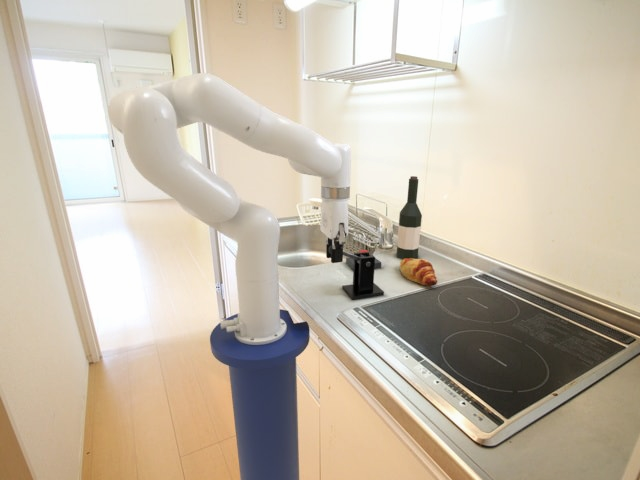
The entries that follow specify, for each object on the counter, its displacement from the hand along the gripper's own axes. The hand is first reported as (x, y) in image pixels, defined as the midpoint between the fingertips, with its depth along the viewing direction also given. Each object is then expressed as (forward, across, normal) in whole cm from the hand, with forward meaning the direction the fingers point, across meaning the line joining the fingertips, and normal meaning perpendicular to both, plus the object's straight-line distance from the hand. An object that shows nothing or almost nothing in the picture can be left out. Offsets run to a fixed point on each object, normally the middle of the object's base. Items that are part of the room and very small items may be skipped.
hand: (334, 259), depth 100 cm
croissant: (+12, -5, +31) cm, 34 cm away
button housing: (+11, -20, +18) cm, 29 cm away
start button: (+8, -20, +18) cm, 28 cm away
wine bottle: (+12, -24, +38) cm, 47 cm away
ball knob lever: (+1, 0, +4) cm, 4 cm away
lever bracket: (+11, 0, +9) cm, 15 cm away
